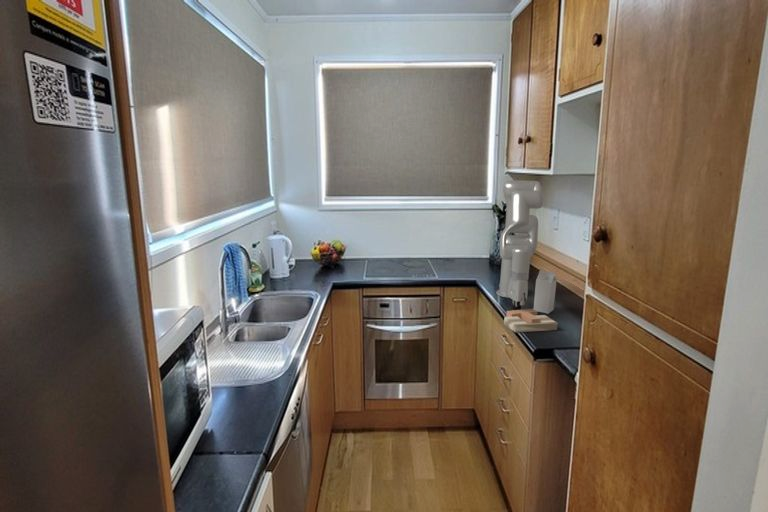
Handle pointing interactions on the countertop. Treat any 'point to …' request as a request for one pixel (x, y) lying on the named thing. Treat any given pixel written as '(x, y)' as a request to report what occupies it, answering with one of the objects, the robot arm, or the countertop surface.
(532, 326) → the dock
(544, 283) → the milk carton
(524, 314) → the t block
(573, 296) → the countertop surface
